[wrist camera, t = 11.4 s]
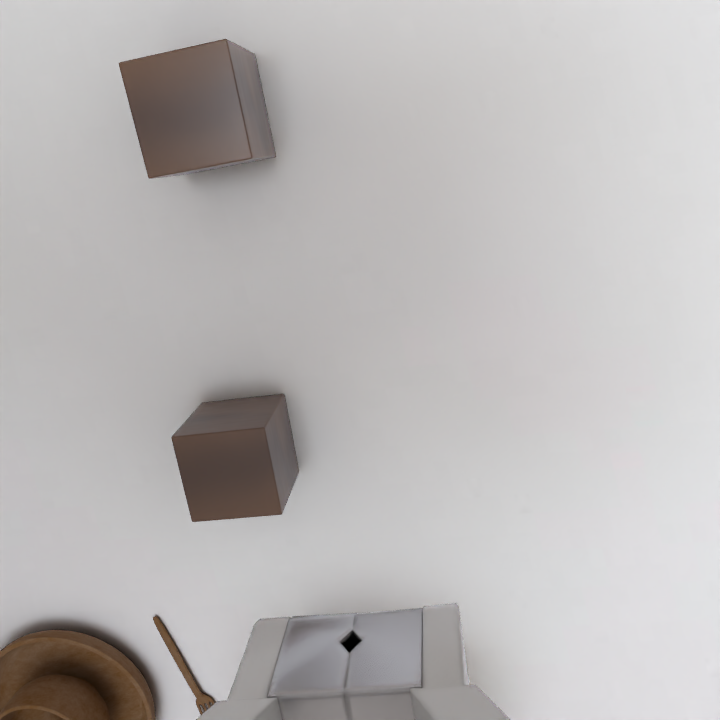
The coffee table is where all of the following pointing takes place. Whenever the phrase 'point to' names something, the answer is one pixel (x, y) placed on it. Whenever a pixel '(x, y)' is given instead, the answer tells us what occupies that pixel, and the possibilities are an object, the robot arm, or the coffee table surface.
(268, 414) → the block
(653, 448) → the coffee table surface
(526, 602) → the coffee table surface
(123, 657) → the place setting
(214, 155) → the middle block
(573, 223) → the coffee table surface
